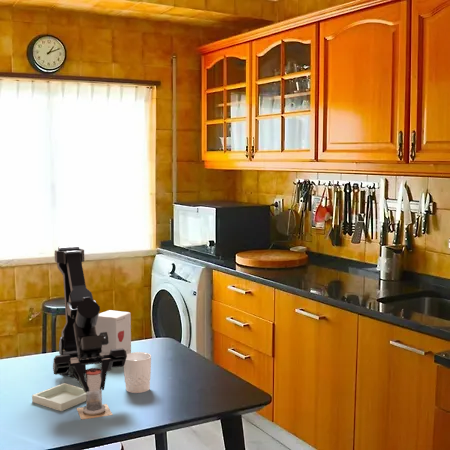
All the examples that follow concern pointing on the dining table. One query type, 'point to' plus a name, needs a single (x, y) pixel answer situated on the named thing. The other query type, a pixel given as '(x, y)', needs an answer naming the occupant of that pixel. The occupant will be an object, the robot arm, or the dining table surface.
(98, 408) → the clear shaker bottle
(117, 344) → the supplement box
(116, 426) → the dining table surface
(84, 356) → the robot arm
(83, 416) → the keeper plate
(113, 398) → the dining table surface
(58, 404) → the tray
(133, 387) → the white cup
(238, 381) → the dining table surface
